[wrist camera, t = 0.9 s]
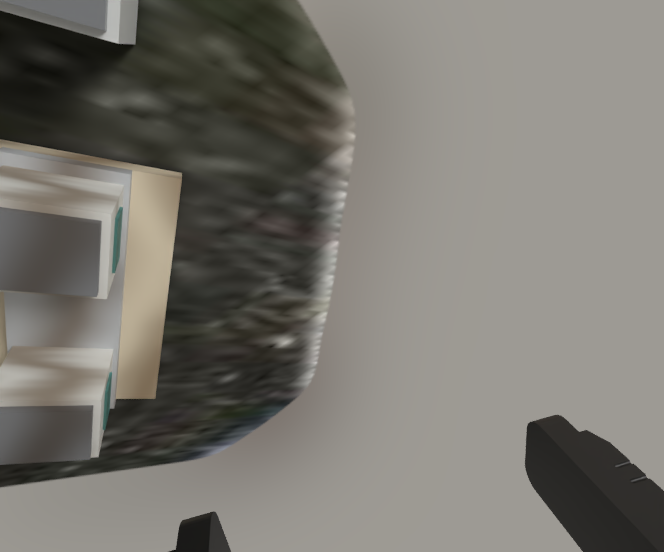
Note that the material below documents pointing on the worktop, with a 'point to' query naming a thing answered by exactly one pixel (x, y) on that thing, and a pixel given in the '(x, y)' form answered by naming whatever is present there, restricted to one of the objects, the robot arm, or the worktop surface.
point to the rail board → (78, 295)
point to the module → (82, 16)
